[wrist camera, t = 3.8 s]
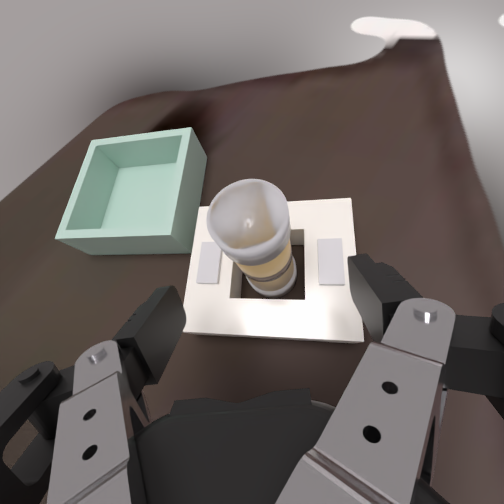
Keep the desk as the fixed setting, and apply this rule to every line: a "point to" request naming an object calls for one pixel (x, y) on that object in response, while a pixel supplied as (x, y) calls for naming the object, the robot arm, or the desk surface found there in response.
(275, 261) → the white and tan cylinder
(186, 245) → the parts tray
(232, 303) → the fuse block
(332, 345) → the desk surface
